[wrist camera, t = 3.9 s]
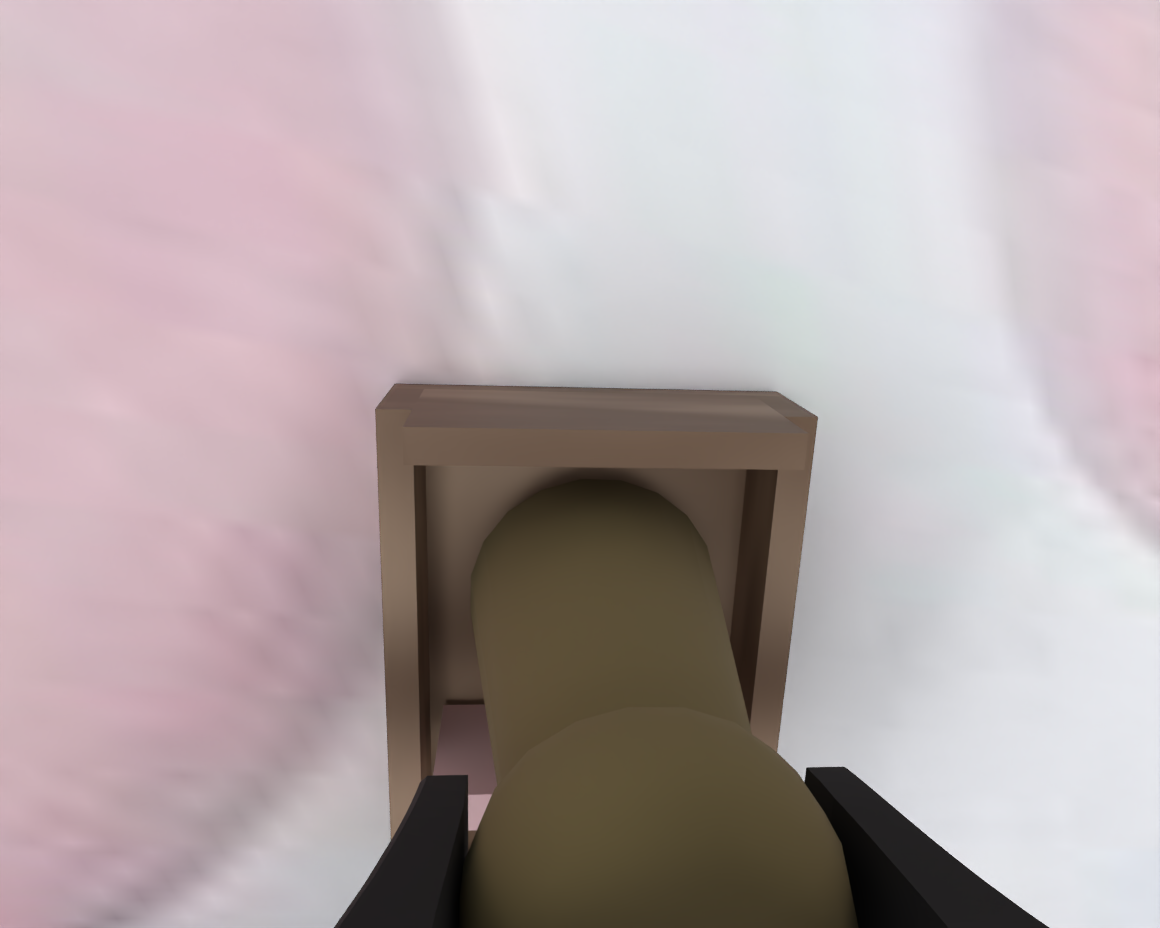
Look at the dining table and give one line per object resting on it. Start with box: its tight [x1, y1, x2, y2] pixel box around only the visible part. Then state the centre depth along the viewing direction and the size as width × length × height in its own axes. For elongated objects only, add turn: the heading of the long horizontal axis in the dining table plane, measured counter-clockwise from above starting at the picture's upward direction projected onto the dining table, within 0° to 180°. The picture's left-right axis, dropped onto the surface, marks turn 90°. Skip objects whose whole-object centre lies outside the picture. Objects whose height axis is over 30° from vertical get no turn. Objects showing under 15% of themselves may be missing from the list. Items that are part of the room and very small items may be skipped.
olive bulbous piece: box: [459, 479, 859, 928], centre depth 14 cm, size 6×6×11 cm
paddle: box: [433, 704, 497, 831], centre depth 21 cm, size 1×8×4 cm, turn 88°
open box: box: [375, 384, 818, 851], centre depth 21 cm, size 15×10×5 cm, turn 178°
